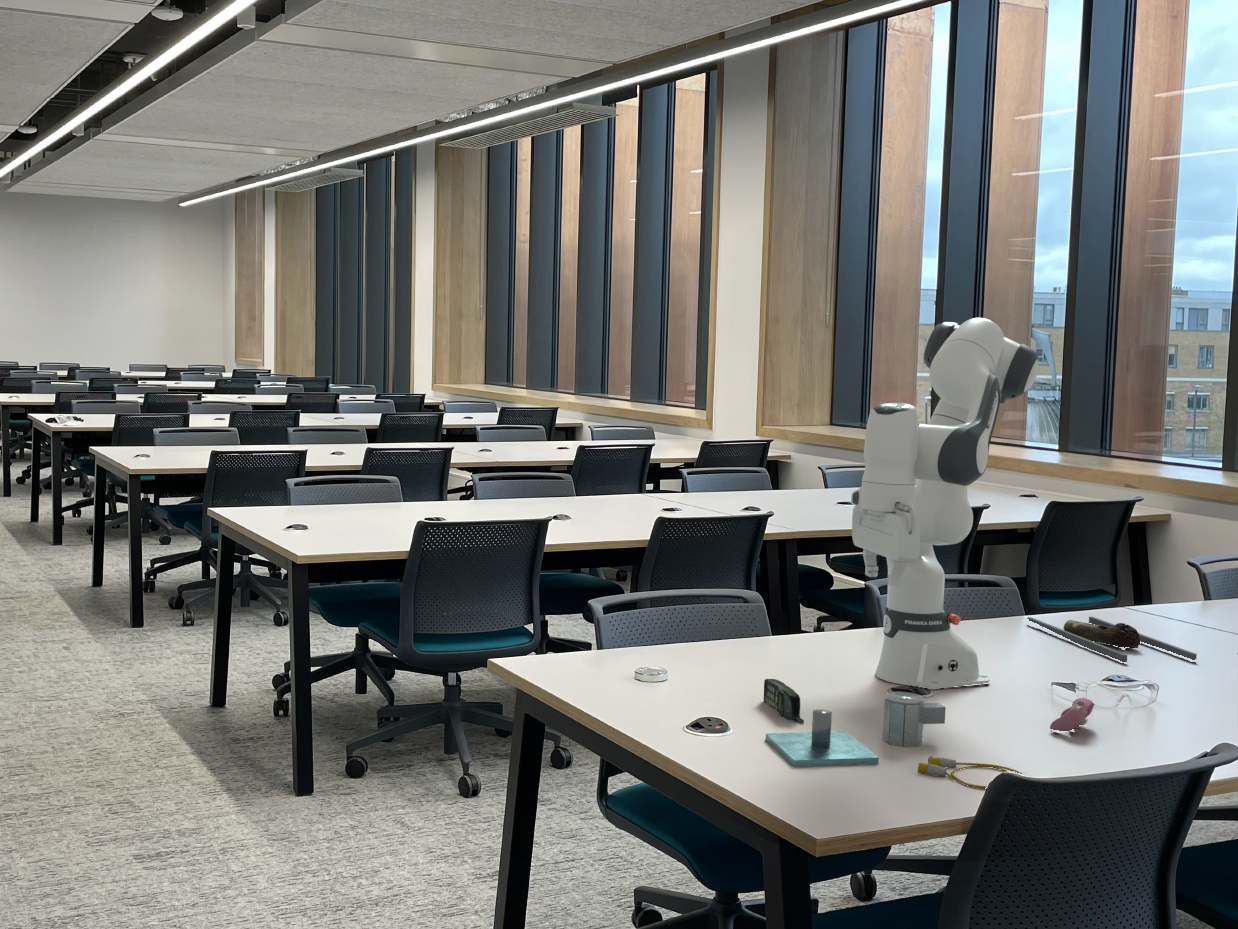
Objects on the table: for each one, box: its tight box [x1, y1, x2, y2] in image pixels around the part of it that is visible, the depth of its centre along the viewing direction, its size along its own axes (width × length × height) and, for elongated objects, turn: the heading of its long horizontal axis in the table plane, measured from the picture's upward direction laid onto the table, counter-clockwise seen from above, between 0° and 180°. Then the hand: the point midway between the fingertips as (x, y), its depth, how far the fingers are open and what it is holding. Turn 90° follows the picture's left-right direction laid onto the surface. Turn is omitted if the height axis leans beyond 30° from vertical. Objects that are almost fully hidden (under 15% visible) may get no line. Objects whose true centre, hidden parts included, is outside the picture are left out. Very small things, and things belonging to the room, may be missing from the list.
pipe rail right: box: [1088, 616, 1198, 660], centre depth 292 cm, size 1×40×2 cm, turn 11°
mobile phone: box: [763, 678, 805, 724], centre depth 223 cm, size 5×3×15 cm
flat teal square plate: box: [765, 708, 880, 767], centre depth 200 cm, size 14×14×6 cm
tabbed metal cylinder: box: [882, 691, 946, 747], centre depth 208 cm, size 10×6×8 cm, turn 101°
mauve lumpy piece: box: [1049, 697, 1096, 732], centre depth 217 cm, size 10×5×7 cm, turn 148°
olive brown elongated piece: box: [1062, 619, 1141, 649], centre depth 289 cm, size 18×7×6 cm, turn 38°
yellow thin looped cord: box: [917, 755, 1023, 791], centre depth 191 cm, size 12×16×2 cm
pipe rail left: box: [1026, 616, 1128, 663], centre depth 289 cm, size 1×40×2 cm, turn 11°
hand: (882, 581), depth 209 cm, fingers open, 8 cm apart
